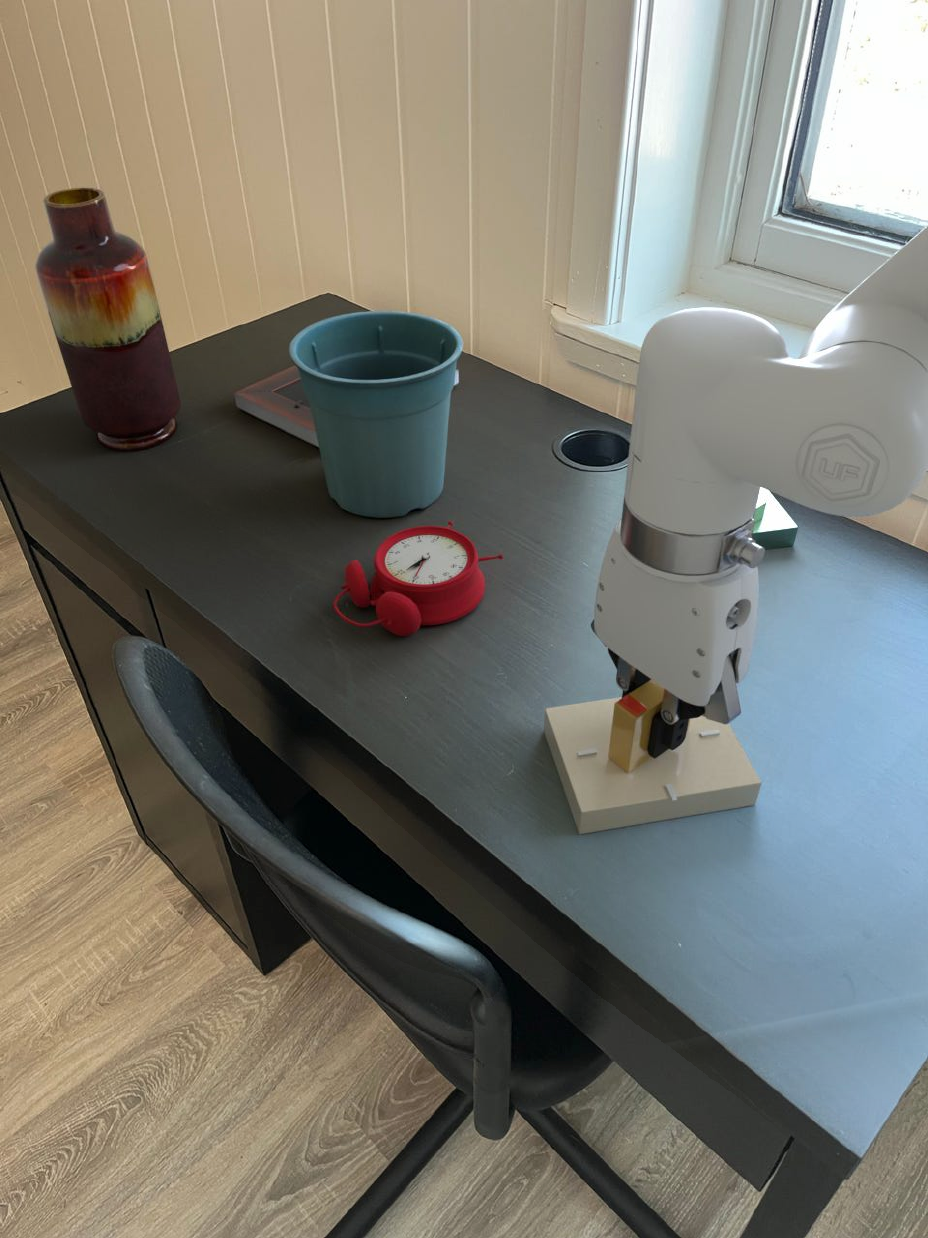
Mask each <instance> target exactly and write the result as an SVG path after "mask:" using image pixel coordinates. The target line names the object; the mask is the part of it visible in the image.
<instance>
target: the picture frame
mask: <svg viewBox="0 0 928 1238" xmlns="http://www.w3.org/2000/svg"><path fill="white" fill-rule="evenodd" d="M459 376H460V375H459V369H458V368H456V373H455V383H454V387H455V386H457V385H458V384H459V383H460V378H459ZM233 395H234V399H235V406H236V408H238V409H239V410H240V411H243V412H244V413H246V414H249V415H251V416H253V417H255V418H257V419H259V420H261V421H263V422H265V423H267V424H269V425H272V426H273V427H276V428H277V429H280V430H281V431H284V432H285V433H287V434H289V435H291V436H293V437H295V438H297V439H300V440H302V441H303V442H306V443H308V444H310V445H312V446H315V447H317V448H319V444H318V440H317V435H316V430H315V426H314V421H313V417H312V412H311V408H310V403H309V399H308V398H307V397H306V395H305V393H304V391H303V387H302V383H301V379H300V374H299V371H298V367H297V366H296V365H295V364H294V365H293V366H291V367H288V368H286V369H284V370H282V371H280V372H277V373H275V374H273V375H271V376H268V377H266V378H263V379H262V380H259V381H258V382H255V383H253V384H250V385H248V386H246V387H244V388H242V389H239V390H238V391H235V392H234V393H233Z"/></svg>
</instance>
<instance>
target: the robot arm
mask: <svg viewBox="0 0 928 1238" xmlns="http://www.w3.org/2000/svg"><path fill="white" fill-rule="evenodd" d="M633 404H634V405H633V412H632V423H631V430H630V441H629V450H628V458H627V469H626V475H625V476H626V477H625V484H624V485H625V486H624V495H623V503H622V512H621V518H619V520H618V521H617V522H616V523H615V526H614V529H613V530H612V533H611V535H610V538H609V540H608V543H607V546H606V549H605V553H604V557H603V560H602V563H601V568H600V572H599V576H598V581H597V588H596V592H595V593H596V594H595V601H594V611H593V619H592V621H591V623H590V628H591V631H592V632H593V634H595V636H596V637H597V638H598V639H599V641H600V642H601V643H602V644H603V645H604V647H605V648H607V653H608V655H609V657H610V659H611V660H612V663H613V665H614V667H615V669H616V675H615V682H616V685H617V686H618V688H619V689H620V690H622V694H621V697H622V698H623V697H624V696H626V695H628V694H629V693H631V692H633V691H634V690H636V689H637V688H639V687H640V686H642V685H643V684H645V683H646V682H648V681H649V680H651V679H652V680H653V681H655V682H656V683H657V684H659V685H660V686H662V687H663V688H664V694H663V700H662V707H661V711H660V712H658V713H657V714H655V715H654V717H653V719H652V725H651V731H650V737H649V743H648V750H647V751H648V754H649V755H650V756H651V757H653V758H654V759H655V758H657V757H658V756H660V755H661V754H663V753H664V752H665V751H667V750H668V749H670V750H674V749H676V748H677V747H679V746H680V745H681V744H682V743H683V741H684V740H685V738H686V733H687V728H688V723H689V719H692V718H698V717H700V716H704V717H706V719H709V720H712V721H716V722H719V723H722V724H728V723H729V724H730V723H731V722H732V721H734V720H736V719H737V718H738V717H739V716H740V715H741V714H742V709H741V703H740V698H739V692H738V688H737V687H738V686H737V685H738V684H740V683H742V681H743V680H744V679H746V677H747V675H748V672H749V669H750V666H751V661H752V656H753V650H754V644H755V637H756V630H757V623H758V614H759V613H758V612H759V595H760V590H759V589H760V587H759V586H760V585H759V583H760V581H759V567H758V566H759V565H760V564H761V563H762V561H763V559H764V557H765V554H766V549H764V548H763V547H761V546H759V545H758V544H756V541H755V540H754V539H752V533H753V528H754V524H755V520H754V519H753V518H754V514H755V510H756V505H757V501H758V496H759V492H760V487H762V488H764V489H766V490H769V491H770V493H774V494H776V495H778V496H780V497H782V498H784V499H787V500H789V501H791V502H793V503H795V504H797V505H801V506H803V507H806V508H808V509H811V510H815V511H818V512H821V513H824V514H827V515H833V516H838V517H843V518H844V517H846V518H863V517H870V516H875V515H878V514H879V515H880V514H883V513H886V512H887V511H890V510H892V509H894V508H895V507H897V506H899V505H901V504H902V503H903V502H904V501H905V500H907V499H908V498H909V497H910V496H912V494H913V493H914V492H915V491H916V490H917V489H918V487H919V486H920V484H921V483H922V481H923V479H925V476H926V474H927V471H928V225H926V226H925V227H924V228H923V229H922V230H920V231H919V232H918V233H917V234H916V235H914V236H913V237H912V238H911V239H910V240H908V242H906V243H905V244H904V245H903V246H902V247H900V249H898V250H897V251H896V252H895V253H893V255H891V256H890V257H889V258H888V259H887V260H885V262H884V263H882V264H881V265H880V266H879V267H878V268H876V269H875V270H874V271H873V272H872V273H871V274H870V275H868V276H867V278H865V279H864V280H863V281H861V283H860V284H858V285H857V286H856V287H855V288H854V289H853V290H851V291H850V292H849V293H848V294H847V295H846V296H845V297H844V298H843V299H842V300H841V301H840V302H839V303H837V305H836V306H834V307H833V308H832V309H831V311H829V312H828V313H827V314H826V315H825V316H824V317H823V319H822V320H821V321H820V322H819V324H817V326H815V329H814V330H813V331H812V332H811V334H810V335H809V337H808V339H807V342H806V343H805V344H804V347H803V348H802V350H801V353H800V355H799V357H798V358H797V359H795V358H792V357H791V356H790V355H789V354H788V349H787V344H786V342H785V340H784V338H783V335H782V334H781V332H779V331H778V329H777V328H776V327H774V325H772V324H771V323H769V321H767V320H765V319H763V318H762V317H759V316H757V315H754V314H751V313H749V312H745V311H742V310H737V309H731V308H722V307H696V308H686V309H682V310H678V311H674V312H672V313H670V314H668V315H666V316H664V317H662V318H660V319H659V320H658V321H656V322H655V323H654V324H653V325H652V326H651V327H650V329H649V330H648V331H647V333H646V335H645V337H644V339H643V342H642V344H641V348H640V355H639V360H638V368H637V375H636V385H635V394H634V403H633Z"/></svg>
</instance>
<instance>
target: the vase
mask: <svg viewBox="0 0 928 1238" xmlns="http://www.w3.org/2000/svg"><path fill="white" fill-rule="evenodd" d="M43 205H44V209H45V212H46V216H47V220H48V223H49V228H50V231H51V235H52V240H51V241H50V242H49V243H47V244H46V245H45V246H44V247H42V249H41V250H40V252H39V253H38V255H37V257H36V260H35V264H34V265H35V273H36V276H37V279H38V284H39V287H40V291H41V293H42V297H43V300H44V303H45V307H46V310H47V312H48V317H49V319H50V322H51V326H52V329H53V332H54V335H55V338H56V339H55V340H56V342H57V345H58V349H59V351H60V354H61V358H62V360H63V364H64V367H65V370H66V373H67V376H68V380H69V383H70V386H71V389H72V392H73V396H74V399H75V402H76V405H77V408H78V410H79V414H80V416H81V419H82V422H83V424H84V425H85V426H86V427H87V428H88V429H90V430H91V431H94V432H95V433H96V439H97V441H98V443H99V444H100V445H101V446H102V447H104V448H106V449H108V450H111V451H117V452H136V451H137V452H138V451H142V450H147V449H151V448H154V447H156V446H159V445H161V444H163V443H165V442H167V441H168V440H170V439H171V438H172V437H173V436H174V435H175V434H176V432H177V429H178V423H177V420H176V418H175V417H176V416H177V415H178V413H179V411H180V408H181V399H180V394H179V390H178V384H177V379H176V376H175V371H174V366H173V362H172V358H171V354H170V349H169V344H168V340H167V336H166V332H165V331H166V330H165V326H164V323H163V322H164V321H163V319H162V315H161V314H162V313H161V310H160V306H159V305H160V304H159V302H158V297H157V293H156V288H155V284H154V280H153V276H152V271H151V268H150V264H149V259H148V256H147V253H146V251H145V250H144V248H143V246H141V244H140V243H138V242H137V241H136V240H135V239H133V238H132V237H130V236H129V235H127V234H125V233H121V232H118V231H116V230H115V227H114V224H113V219H112V216H111V213H110V212H111V211H110V209H109V205H108V202H107V197H106V195H105V192H104V191H103V190H101V189H98V188H94V187H72V188H66V189H61V190H56V191H54V192H51V193H49V194H47V195H46V196H45V197H44V198H43Z"/></svg>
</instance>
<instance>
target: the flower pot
mask: <svg viewBox="0 0 928 1238" xmlns="http://www.w3.org/2000/svg"><path fill="white" fill-rule="evenodd" d="M463 348H464V340H463V337H462V336H461V334H460V333H459V332H458V330H457V329H456V328H454V326H452V325H450V324H448V323H447V322H445V321H443V320H440V319H437V318H434V317H432V316H428V315H423V314H419V313H414V312H406V311H397V310H395V311H393V310H369V311H359V312H351V313H344V314H339V315H336V316H331V317H328V318H324V319H321V320H319V321H317V322H314V323H312V324H310V325H308V326H307V327H305V328H303V329H302V330H301V331H299V332H298V333H297V334H296V335H295V336H294V338H292V340H291V341H290V343H289V346H288V352H289V356H290V359H291V361H292V363H293V364H294V366H295V365H296V366H297V367H298V371H299V374H300V379H301V383H302V387H303V391H304V393H305V395H306V397H307V398H308V399H309V403H310V408H311V412H312V417H313V421H314V426H315V430H316V435H317V440H318V444H319V447H318V449H319V452H320V458H321V462H322V466H323V467H322V468H323V473H324V475H325V476H324V477H325V482H326V485H327V490H328V494H329V496H330V498H331V499H334V500H335V502H336V503H337V504H338V506H339V507H340V508H341V509H342V510H344V511H346V512H349V513H352V514H354V515H357V516H362V517H367V518H377V519H383V518H384V519H386V518H387V519H388V518H389V519H390V518H398V517H403V516H406V515H407V514H408V513H409V512H411V511H412V510H416V509H419V510H424V509H425V508H427V507H430V506H431V505H432V504H433V503H435V502H436V500H438V498H439V497H440V495H441V493H442V492H443V489H444V481H445V472H446V471H445V470H446V457H447V456H446V455H447V447H448V446H447V444H448V431H449V418H450V407H451V397H452V396H451V394H452V391H453V389H454V387H455V386H454V383H455V373H456V369H457V361H458V359H459V358H460V356H461V354H462V352H463Z"/></svg>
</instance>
